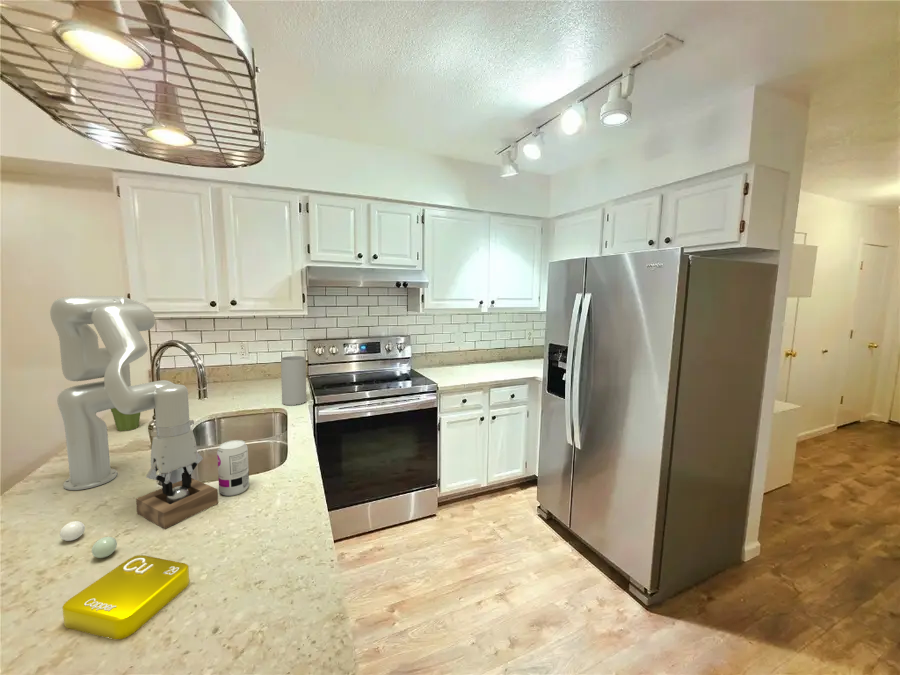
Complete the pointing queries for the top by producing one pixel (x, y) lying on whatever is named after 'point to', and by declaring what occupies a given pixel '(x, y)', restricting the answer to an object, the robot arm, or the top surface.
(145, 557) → the element tile
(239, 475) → the supplement can
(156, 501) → the frame
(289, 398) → the cylinder vase
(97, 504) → the top surface
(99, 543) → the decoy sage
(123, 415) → the plant pot
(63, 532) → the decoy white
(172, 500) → the steel ball
